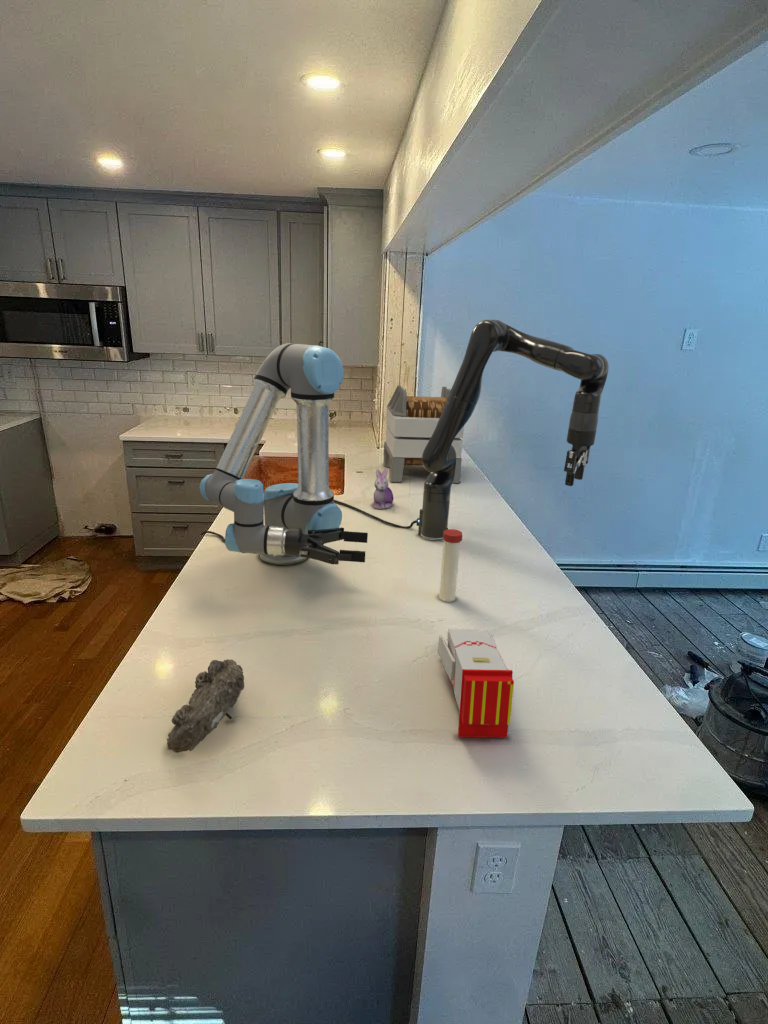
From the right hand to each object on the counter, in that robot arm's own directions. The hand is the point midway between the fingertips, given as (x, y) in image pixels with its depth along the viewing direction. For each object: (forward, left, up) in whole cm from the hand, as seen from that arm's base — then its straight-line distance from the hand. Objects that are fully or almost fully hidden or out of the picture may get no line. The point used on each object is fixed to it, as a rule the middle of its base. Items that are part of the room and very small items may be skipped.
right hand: (573, 482), depth 165 cm
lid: (-19, -37, -10) cm, 42 cm away
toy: (+5, -70, -29) cm, 76 cm away
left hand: (-36, -52, -14) cm, 65 cm away
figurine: (-77, +14, -29) cm, 84 cm away
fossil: (-30, -108, -29) cm, 115 cm away
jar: (-19, -37, -29) cm, 51 cm away
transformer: (-92, +65, -29) cm, 116 cm away
